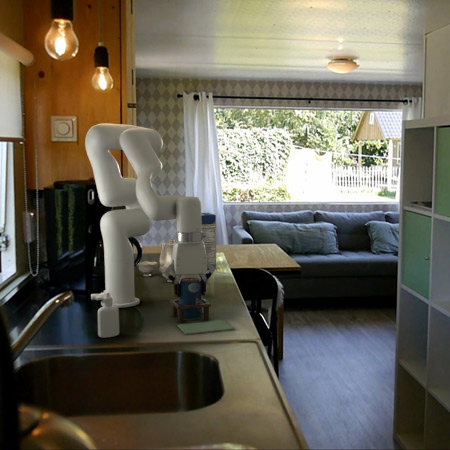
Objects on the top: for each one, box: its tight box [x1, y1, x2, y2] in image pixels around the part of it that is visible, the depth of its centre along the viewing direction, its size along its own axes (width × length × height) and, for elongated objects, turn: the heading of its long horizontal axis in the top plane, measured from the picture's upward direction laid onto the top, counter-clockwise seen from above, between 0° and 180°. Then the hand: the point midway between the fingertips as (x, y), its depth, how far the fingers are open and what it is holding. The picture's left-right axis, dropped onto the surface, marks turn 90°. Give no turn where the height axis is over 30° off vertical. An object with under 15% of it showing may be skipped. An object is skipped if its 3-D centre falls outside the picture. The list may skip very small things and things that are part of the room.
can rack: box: [169, 297, 212, 324], centre depth 198 cm, size 10×10×5 cm
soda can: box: [178, 278, 203, 321], centre depth 198 cm, size 7×7×12 cm
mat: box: [176, 319, 235, 336], centre depth 187 cm, size 14×10×1 cm
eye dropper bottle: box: [97, 293, 120, 339], centre depth 178 cm, size 4×6×12 cm
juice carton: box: [201, 212, 217, 271], centre depth 286 cm, size 12×8×24 cm, turn 21°
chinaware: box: [136, 236, 177, 283], centre depth 264 cm, size 28×17×17 cm, turn 49°
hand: (190, 294), depth 197 cm, fingers closed on soda can, 7 cm apart
